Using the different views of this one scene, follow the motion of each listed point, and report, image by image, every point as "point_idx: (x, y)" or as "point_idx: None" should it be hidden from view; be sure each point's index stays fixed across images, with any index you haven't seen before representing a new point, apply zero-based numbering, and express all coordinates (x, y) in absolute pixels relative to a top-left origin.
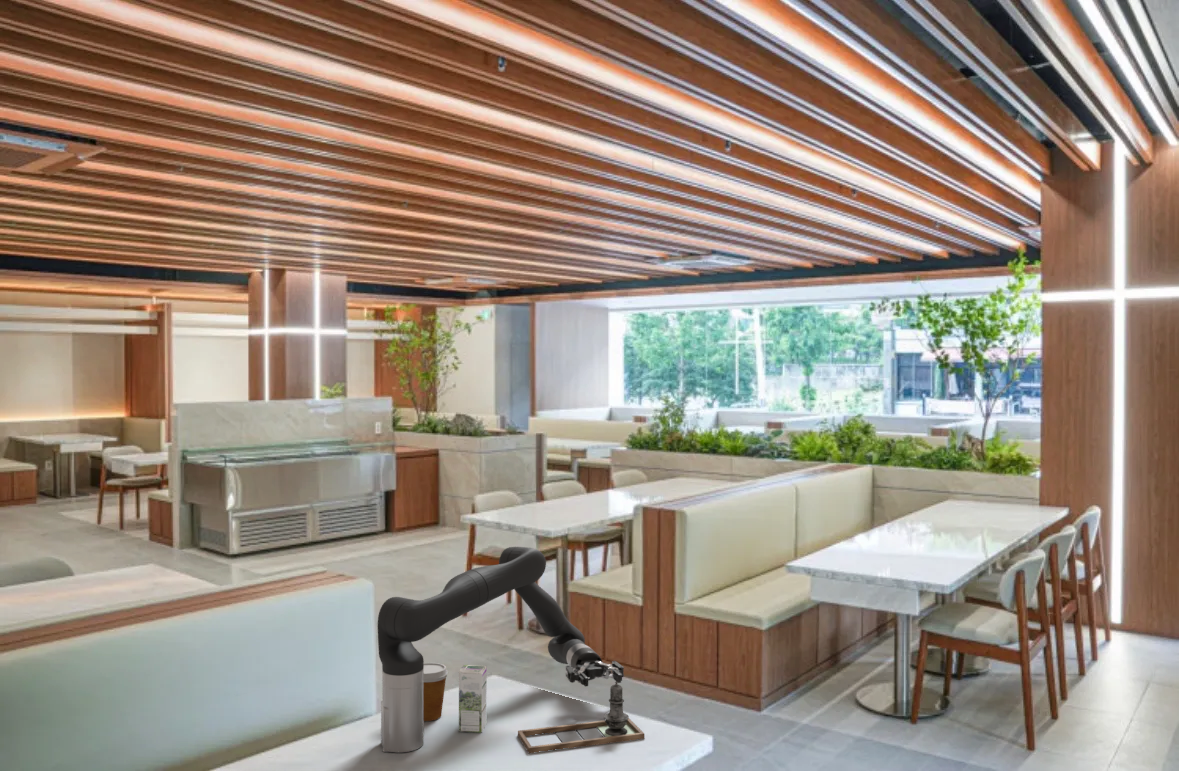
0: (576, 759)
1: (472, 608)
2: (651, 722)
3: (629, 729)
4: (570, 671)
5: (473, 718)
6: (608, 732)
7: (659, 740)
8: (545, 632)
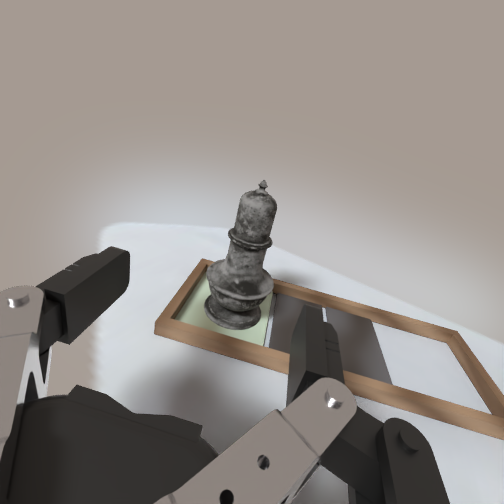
0: (355, 284)
1: None
2: None
3: (195, 301)
4: (430, 478)
5: None
6: (258, 308)
7: (181, 253)
8: None
